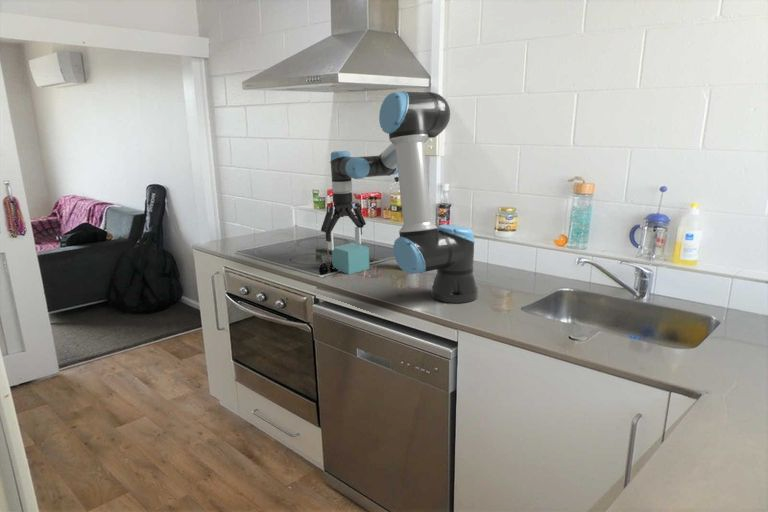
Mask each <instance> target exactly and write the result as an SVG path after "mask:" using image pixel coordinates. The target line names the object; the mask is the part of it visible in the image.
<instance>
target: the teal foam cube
mask: <svg viewBox="0 0 768 512" xmlns="http://www.w3.org/2000/svg"><path fill="white" fill-rule="evenodd" d="M331 259H332V260H331V262H332V265H333V267H334V268H336V269H338V270H340V271H342V272H341V273H343V272H344V274H346V275H351V274H356V273H359V272H364V271H366V270H369V269H370V248H369V246H366V245H362V244H357V243H354V242H351V243H350V242H349V243H346V244H342V245H341V244H340V245H337V246H334V250H331ZM340 271H339V272H340Z"/></svg>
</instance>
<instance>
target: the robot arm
mask: <svg viewBox="0 0 768 512" xmlns="http://www.w3.org/2000/svg"><path fill="white" fill-rule="evenodd" d="M378 116H379V117H378V120H379V126H380V128H381V129H382V132H384V133H386V134H387V135H388V137H389V138H388V139H389V142H390V143H391V144H390V145H388V146H387V147H386V148H385V150H383V151H382V152H381V153H380V154H379V155H369V156H368V155H367V156H351V152H350V151H349V150H338V151H336V150H335V151H331V153H330V161H329V162H330V170H331V171H330V172H331V174H330V175H331V189H332V190H331V191H332V192H333V193H332V203H333V206H329V205H328V206H327V207H326V213H325V216H324V220H323V222H322V225H321V229H320V231H321V232H322V233H325V241H326V242H327V249H328V250H330V251H332V250H334V247H335V246H334V232H332V231H333V229H334V228H335V225H336V224H337V222H338V221H339V219H340V218H344V217H349V219H350V220H351V222H352V223H353V224H354V226H355V227H354V240H355V241H354V242H355V243H354V244H358V245H362V234H363V231H362V230H363V228H364V226H366V225H367V222H366V221H365V218H364V216H363V214H362V212H361V210H360V206H359V205H360V204H359V203H358V202H353V193H352V191H353V186H352V185H353V184H352V179H354V180H357V179H358V180H362V179H364V178H373V177H386V176H387V177H389V176H393V175H398V184H399V185H398V186H399V193H400V205H401V213H402V223H403V225H402V227H401V228H400V229H399V231H398V232H399V233H398V234H399V237H397V238H396V239H395V240H394V244H393V247H392V248H393V249H392V250H393V256H394V259H395V262H396V264H397V266H398V267H399V266H400V267H399V268H400V269H401V270H402V271H403V272H405V273H406V274H408V275H414V274H423V273H426V272H430V271H431V272H432V271H435V270H436V274H435V277H434V278H435V279H434V280H433V284H432V287H431V297H432V298H433V299H435V300H437V301H439V302H443V303H448V304H449V303H450V304H451V303H452V304H462V303H469V302H473V301H474V300H477V299H478V297H479V289H478V286H477V282H476V279H475V275H474V253H475V238H474V237H475V233H474V231H473V230H472V229H471V228H469V227H465V226H460V225H454V224H453V225H452V224H440V225H438V226H437V225H435V224H434V223H433V221H432V215H431V204H430V193H429V183H428V182H429V181H428V172H427V164H426V163H427V162H426V155H425V154H426V153H425V143H426V142H427V141H428V140H429V139H434V138H436V137H437V136H439V135H440V134H441V133H442V132H443V131H445V129H446V128H447V127H448V124H449V122H450V119H451V109H450V106H449V103H448V101H447V100H446V98H444V97H443V96H442V95H441V94H439V93H436V92H432V91H427V92H425V91H424V92H422V91H421V92H420V91H395V92H391V93H389V94H387V95H386V96H385V97H384V99H383V101H382V103H381V105H380V109H379V115H378ZM352 202H353V203H352ZM352 210H353V211H352Z"/></svg>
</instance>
